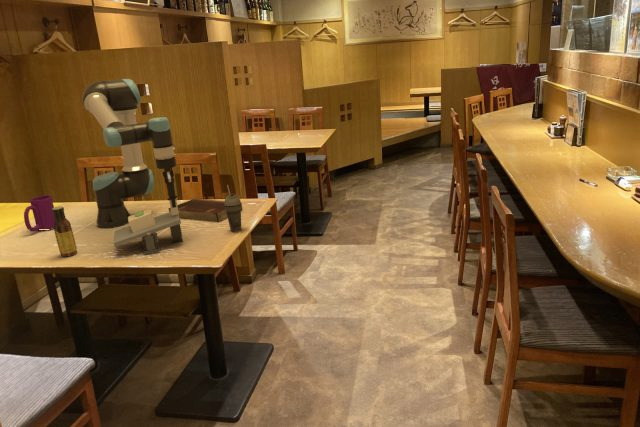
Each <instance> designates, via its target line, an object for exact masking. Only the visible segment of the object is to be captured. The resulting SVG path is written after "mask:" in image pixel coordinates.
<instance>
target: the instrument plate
mask: <svg viewBox="0 0 640 427" xmlns="http://www.w3.org/2000/svg"><path fill="white" fill-rule="evenodd" d="M128 222H129V223H128V226H125V227H123V228H120V229H116V230H114V234H113V245H114V247H119V246H122V245H124V244H126V243H129V242H132V241H135V240H137V239H140V238H141V239H142V237H144V236H146V235H151V234H152V233H156V232H159V231H163V230H166V229H168V228H169V229H170V227H172V226H174V225H177V224H180V225H181V224H182V221H181V219H180V218H179V215H172V212H169V211H168V212H165V213H162V214H160V215H157V216H154V214H153V212H152V209H146V210H144V211H141V210H140V211H138V212H136V213H134V214H133V215H130V216H129V217H128Z"/></svg>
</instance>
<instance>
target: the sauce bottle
mask: <svg viewBox="0 0 640 427" xmlns="http://www.w3.org/2000/svg"><path fill="white" fill-rule="evenodd" d="M52 211H53V213H54V217H55V222H54V229H53V230H54V234H55V240H56V243H57V246H58V250H59V253H60V256H61V257H62V256H68V257H72V256H71V255H73V256H75V255H76V254H78V250H77V248H78V247H77V245H76V239H75V236H74V232H73V229H72V225H71V222H70V221H69V220H68V219H67V218H66V213H65V208H64V206H59V205H58V206H54V208H52Z"/></svg>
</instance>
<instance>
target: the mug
mask: <svg viewBox="0 0 640 427" xmlns="http://www.w3.org/2000/svg"><path fill="white" fill-rule="evenodd" d="M52 198H53V197H52V195H39V196H35V197H32V198H30V199H29V203H30V205H29V206H27V207H25V209H24V212H23V219H24V220H23V221H24V224H25V225H24V226H25V227H26V229H27V230H29V231H30V232H37V231H38V230H39V229H51V228H54V222H55V217H54V213H53V211H52V208H55V206H54V202H53V199H52ZM30 210H31V211H32V214H33V218H34V222H35V226H33V227H32V225H31V222H30V216H29V213H30Z"/></svg>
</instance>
